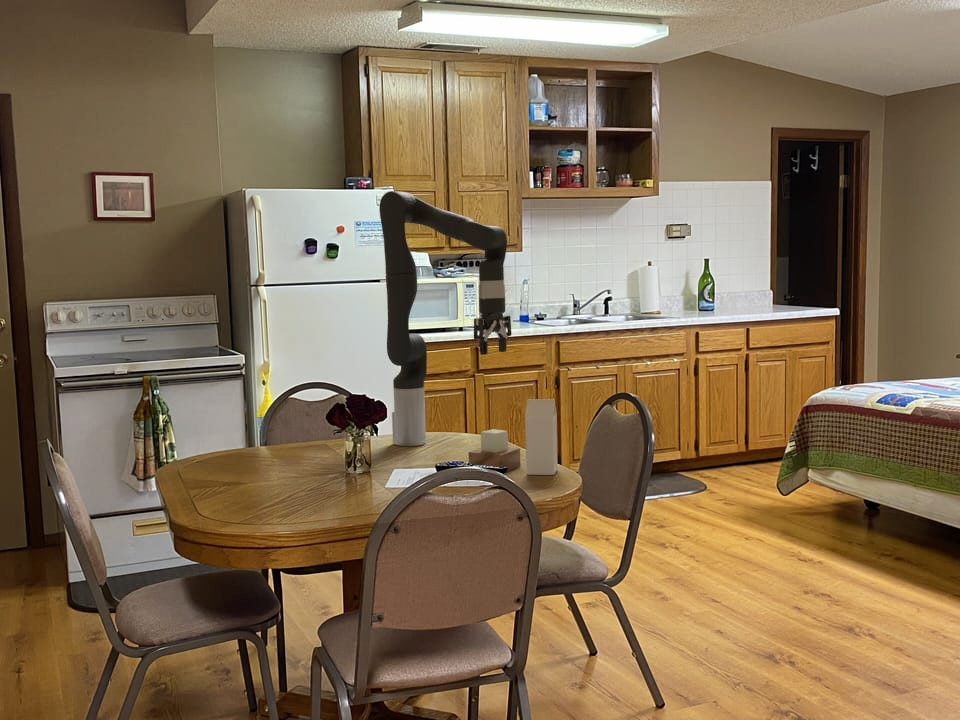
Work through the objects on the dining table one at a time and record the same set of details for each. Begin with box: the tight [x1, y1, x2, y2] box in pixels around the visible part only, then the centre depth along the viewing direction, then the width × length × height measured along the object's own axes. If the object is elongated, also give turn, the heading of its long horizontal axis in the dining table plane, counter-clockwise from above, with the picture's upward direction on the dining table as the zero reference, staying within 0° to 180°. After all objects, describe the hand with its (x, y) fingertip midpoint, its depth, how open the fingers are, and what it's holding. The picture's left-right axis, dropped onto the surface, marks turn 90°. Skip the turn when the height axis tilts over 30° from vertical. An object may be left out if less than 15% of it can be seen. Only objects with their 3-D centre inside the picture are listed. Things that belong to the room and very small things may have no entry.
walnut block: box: [468, 446, 521, 471], centre depth 266 cm, size 10×10×5 cm
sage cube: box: [480, 428, 509, 453], centre depth 265 cm, size 5×5×5 cm
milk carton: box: [524, 398, 558, 476], centre depth 257 cm, size 7×7×19 cm
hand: (493, 353), depth 287 cm, fingers open, 8 cm apart
